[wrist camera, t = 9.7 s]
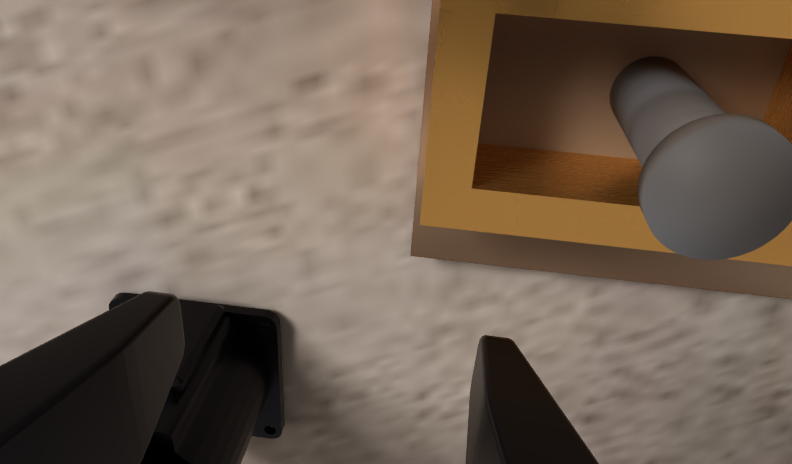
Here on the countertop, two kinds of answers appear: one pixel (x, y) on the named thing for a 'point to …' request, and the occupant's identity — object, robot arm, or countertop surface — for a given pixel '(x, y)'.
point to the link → (554, 170)
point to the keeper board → (577, 123)
